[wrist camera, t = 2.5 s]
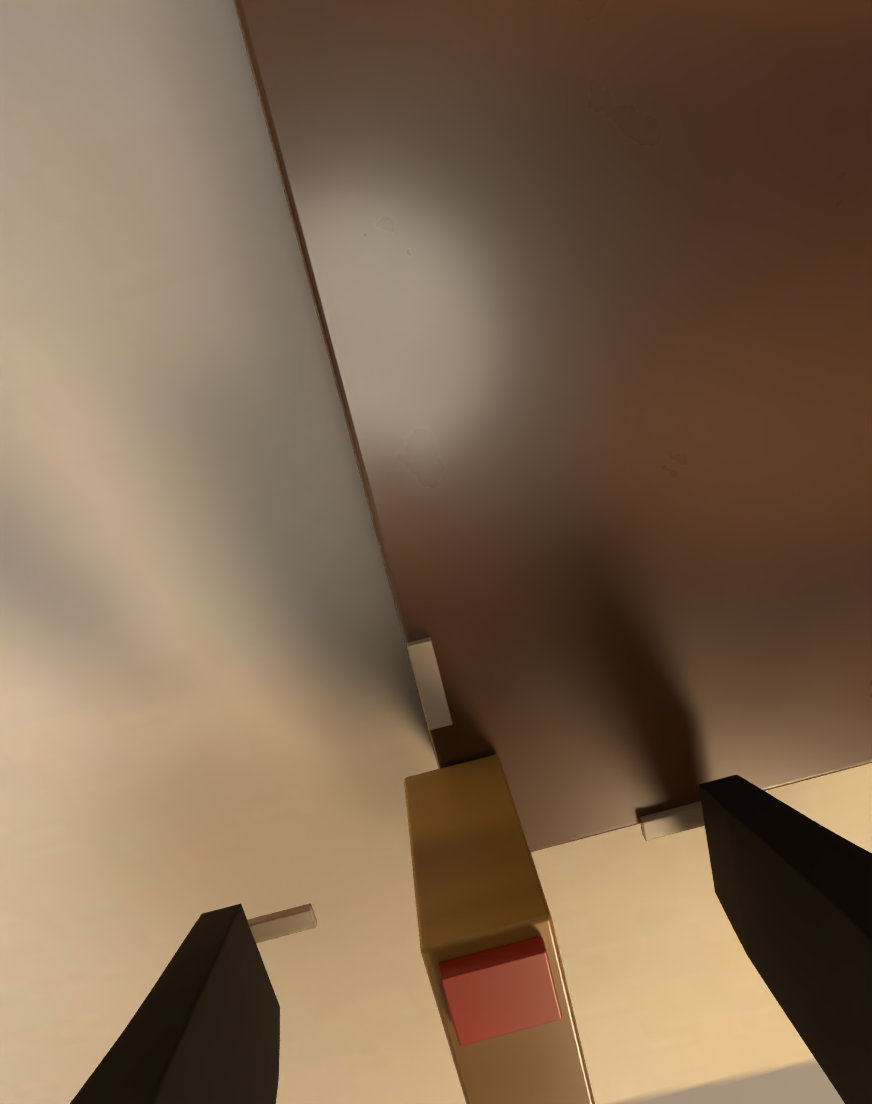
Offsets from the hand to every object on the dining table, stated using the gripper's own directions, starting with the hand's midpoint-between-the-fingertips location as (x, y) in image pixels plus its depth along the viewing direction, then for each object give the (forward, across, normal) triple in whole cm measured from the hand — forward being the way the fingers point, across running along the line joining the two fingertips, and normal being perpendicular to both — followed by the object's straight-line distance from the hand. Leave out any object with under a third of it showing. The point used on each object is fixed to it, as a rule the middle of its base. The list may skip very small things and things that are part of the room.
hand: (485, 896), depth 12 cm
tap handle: (+1, 0, 0) cm, 1 cm away
